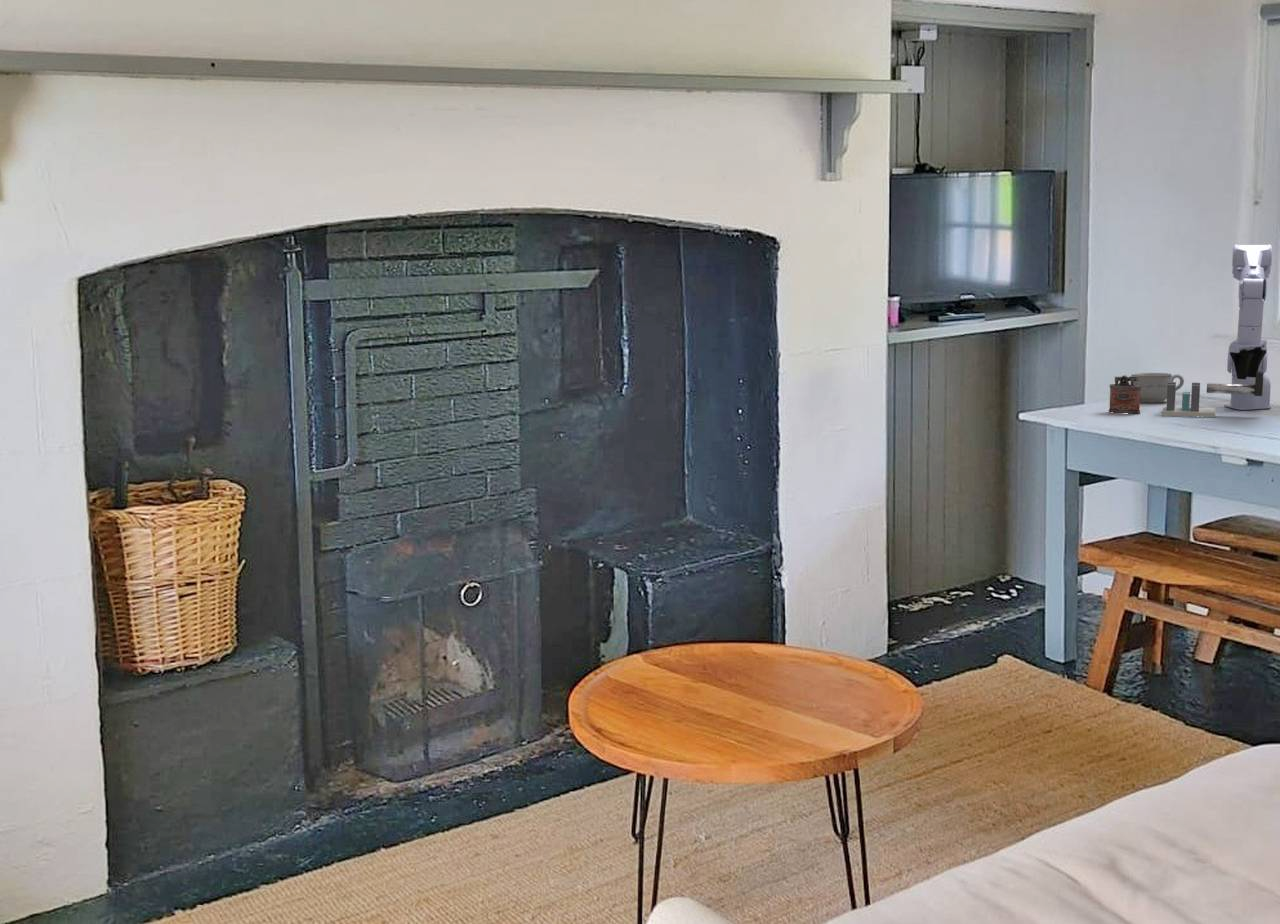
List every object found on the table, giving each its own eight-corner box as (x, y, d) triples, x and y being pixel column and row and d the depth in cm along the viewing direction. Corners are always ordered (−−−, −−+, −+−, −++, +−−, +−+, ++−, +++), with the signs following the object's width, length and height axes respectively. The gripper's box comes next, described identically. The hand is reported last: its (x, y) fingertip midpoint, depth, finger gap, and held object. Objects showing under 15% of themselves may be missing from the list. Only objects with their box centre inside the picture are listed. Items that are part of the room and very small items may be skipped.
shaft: (1261, 394, 405) (1263, 371, 404) (1262, 396, 403) (1263, 373, 401) (1206, 393, 409) (1207, 370, 408) (1206, 394, 407) (1207, 371, 406)
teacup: (1130, 404, 430) (1131, 375, 428) (1130, 398, 440) (1131, 370, 438) (1183, 405, 426) (1185, 376, 424) (1182, 399, 436) (1183, 371, 434)
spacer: (1189, 408, 412) (1190, 391, 412) (1189, 410, 408) (1189, 394, 407) (1182, 408, 413) (1182, 391, 412) (1181, 410, 409) (1182, 393, 408)
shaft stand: (1214, 412, 413) (1216, 382, 411) (1214, 417, 404) (1216, 386, 403) (1162, 410, 417) (1164, 381, 415) (1162, 415, 409) (1163, 385, 407)
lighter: (1107, 413, 415) (1108, 375, 413) (1110, 411, 418) (1111, 374, 416) (1138, 414, 411) (1140, 377, 409) (1141, 413, 414) (1142, 375, 412)
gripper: (1249, 321, 407) (1246, 373, 410) (1220, 326, 398) (1217, 379, 401) (1275, 324, 402) (1271, 376, 405) (1246, 328, 393) (1243, 382, 395)
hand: (1246, 378), depth 402 cm, fingers open, 4 cm apart
